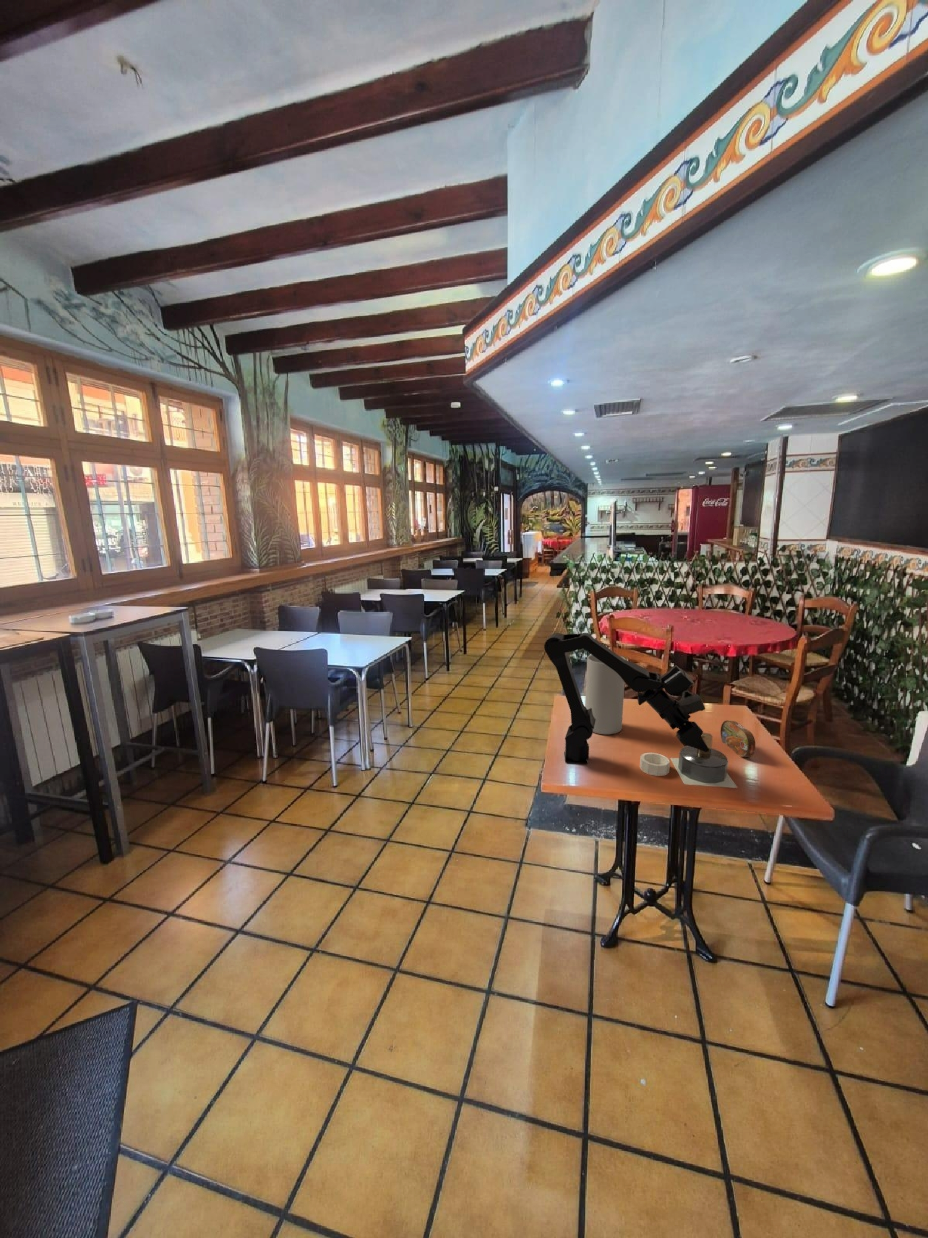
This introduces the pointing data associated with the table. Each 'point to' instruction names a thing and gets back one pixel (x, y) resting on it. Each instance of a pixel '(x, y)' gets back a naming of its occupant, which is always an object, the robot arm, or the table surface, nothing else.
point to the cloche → (703, 763)
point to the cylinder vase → (604, 696)
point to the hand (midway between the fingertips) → (702, 743)
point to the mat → (688, 781)
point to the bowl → (654, 764)
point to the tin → (738, 738)
